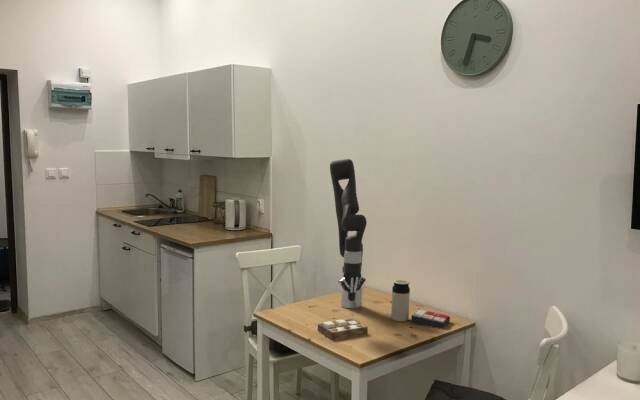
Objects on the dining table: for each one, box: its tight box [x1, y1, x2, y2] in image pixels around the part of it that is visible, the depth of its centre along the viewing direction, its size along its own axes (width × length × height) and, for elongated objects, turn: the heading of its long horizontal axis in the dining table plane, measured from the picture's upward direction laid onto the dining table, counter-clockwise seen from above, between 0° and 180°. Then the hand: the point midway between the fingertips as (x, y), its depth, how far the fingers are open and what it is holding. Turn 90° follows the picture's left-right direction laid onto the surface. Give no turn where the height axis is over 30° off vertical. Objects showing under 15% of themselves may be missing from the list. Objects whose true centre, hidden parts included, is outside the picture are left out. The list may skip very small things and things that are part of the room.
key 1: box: [322, 320, 335, 329], centre depth 226 cm, size 4×4×2 cm
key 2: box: [347, 320, 359, 325], centre depth 232 cm, size 4×4×2 cm
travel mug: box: [390, 279, 411, 323], centre depth 247 cm, size 8×8×18 cm
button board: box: [317, 318, 369, 341], centre depth 228 cm, size 18×12×3 cm
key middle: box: [334, 319, 347, 327], centre depth 229 cm, size 4×4×2 cm
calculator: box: [410, 309, 451, 329], centre depth 245 cm, size 11×4×15 cm
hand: (351, 300), depth 230 cm, fingers closed
